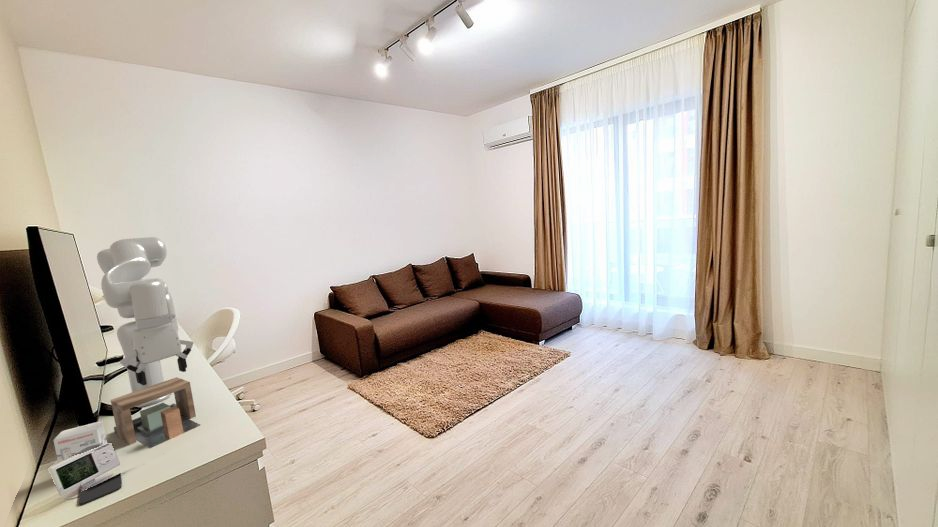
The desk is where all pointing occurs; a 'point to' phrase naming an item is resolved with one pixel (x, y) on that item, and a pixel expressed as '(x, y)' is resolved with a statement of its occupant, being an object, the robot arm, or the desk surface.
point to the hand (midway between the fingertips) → (163, 377)
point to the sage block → (153, 416)
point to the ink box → (79, 440)
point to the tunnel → (145, 395)
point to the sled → (165, 428)
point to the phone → (101, 490)
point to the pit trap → (139, 421)
